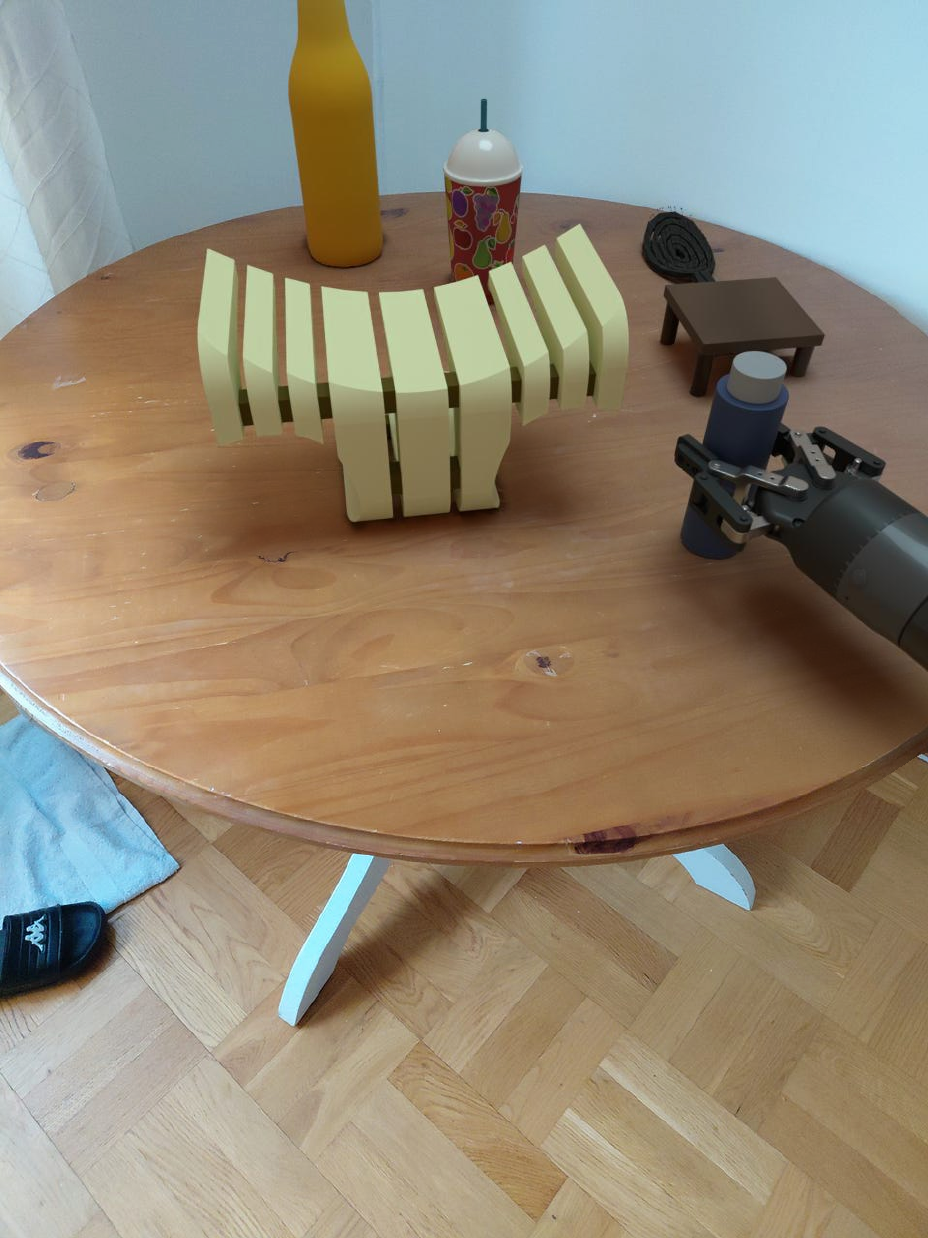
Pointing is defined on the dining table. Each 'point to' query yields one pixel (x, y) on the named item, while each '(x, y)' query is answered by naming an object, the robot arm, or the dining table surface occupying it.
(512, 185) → the smoothie
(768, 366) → the thermos flask
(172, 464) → the dining table surface
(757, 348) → the side table
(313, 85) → the beer bottle
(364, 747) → the dining table surface
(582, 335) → the slatted curved stool
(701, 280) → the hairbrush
